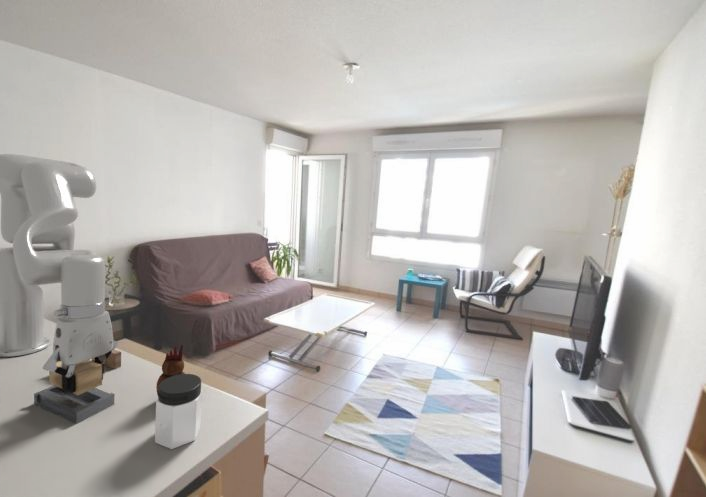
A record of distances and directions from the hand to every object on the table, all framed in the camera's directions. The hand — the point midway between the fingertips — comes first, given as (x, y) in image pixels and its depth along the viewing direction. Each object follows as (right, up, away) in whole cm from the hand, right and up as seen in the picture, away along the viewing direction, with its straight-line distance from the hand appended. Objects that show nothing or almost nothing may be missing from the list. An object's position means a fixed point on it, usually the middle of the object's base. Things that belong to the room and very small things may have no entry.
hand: (83, 384), depth 74 cm
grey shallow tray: (-4, -5, +2) cm, 7 cm away
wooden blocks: (-12, -3, +17) cm, 21 cm away
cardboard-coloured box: (-3, 0, +1) cm, 3 cm away
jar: (+25, -9, -5) cm, 27 cm away
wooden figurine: (+17, -7, +6) cm, 19 cm away
